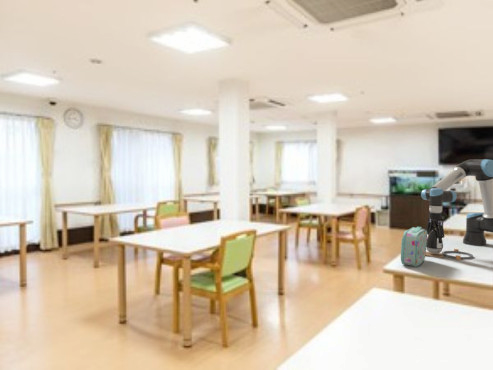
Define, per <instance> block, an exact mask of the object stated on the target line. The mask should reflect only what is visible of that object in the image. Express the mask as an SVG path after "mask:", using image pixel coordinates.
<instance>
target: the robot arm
mask: <svg viewBox="0 0 493 370" xmlns="http://www.w3.org/2000/svg"><path fill="white" fill-rule="evenodd" d="M469 176H471V177H474V178H475V180H476V182H478V185H479V190H480V196H481V200H482V201H481V202H482V206H483V212H469V213H468V212H467V214H466V218H465V220H466V222H465V224H466V226H465V234H464V237H463V239H462V243H463V244H465V245H470V246H487V239H486V236H485V232H487V233H493V159H487V158H485V159H483V158H482V159H481V158H480V159H479V158H478V159H472V158H471V159H468V160H464V161H462V162H460V163H459V164H457V165H456V166H454V167H453V168H452V171H450V172H449V173H447V175H445V176H444V177H443V178H441V179H440V180H439V181H438V182H436V183H435V184H434V185H433V186H431V187H430V188H425V189H422V191H421V193H420V197H421V199H422V200H425V201H429V209H428V210H429V212H428V217H429V218H427V224H426V225H427V226H426V229H425V230H427V236H428V235H429V233H430V231H431V230H434V229H436V231H437V235H438V237H437V248H442V241H443V239H444V238H445V231H444V222H443V221H441V219H443V213H442V212H443V203H454V202H455V201H456V200H457V198H458V196H457V195H458V194H457V193H456V192H455V191H453V190H448V189H450V188H451V187H452V186H453V185H454V184H455V183H457V182H458V181H460V180H463V179H465V178H466V177H469ZM442 249H443V248H442Z"/></svg>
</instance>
